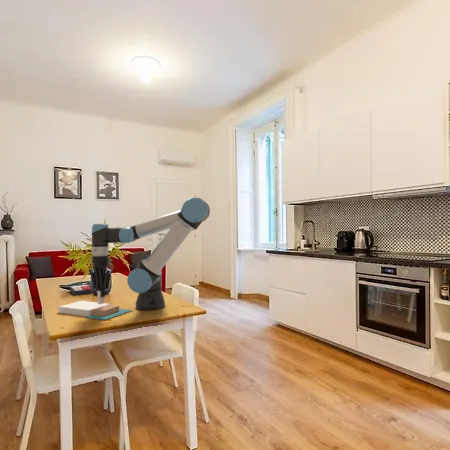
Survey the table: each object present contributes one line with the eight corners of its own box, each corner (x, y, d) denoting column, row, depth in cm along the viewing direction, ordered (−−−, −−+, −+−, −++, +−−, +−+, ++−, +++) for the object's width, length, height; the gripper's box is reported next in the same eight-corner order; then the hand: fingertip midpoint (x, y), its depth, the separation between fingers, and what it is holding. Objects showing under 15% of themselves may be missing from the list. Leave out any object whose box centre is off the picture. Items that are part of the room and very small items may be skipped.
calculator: (74, 290, 203) (70, 285, 215) (74, 297, 203) (70, 292, 215) (92, 288, 209) (87, 284, 221) (92, 295, 209) (87, 290, 221)
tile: (108, 309, 164) (108, 304, 164) (119, 311, 161) (119, 306, 161) (92, 314, 155) (92, 309, 155) (103, 316, 152) (103, 310, 152)
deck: (81, 306, 174) (81, 300, 174) (110, 309, 166) (110, 303, 166) (58, 312, 161) (58, 306, 161) (88, 316, 153) (88, 310, 153)
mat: (113, 308, 167) (113, 307, 167) (132, 311, 163) (132, 310, 163) (85, 317, 151) (85, 316, 151) (105, 320, 146) (105, 319, 146)
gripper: (84, 255, 159) (84, 304, 158) (104, 256, 153) (105, 306, 153) (96, 254, 165) (96, 301, 165) (116, 254, 160) (116, 303, 160)
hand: (100, 303), depth 159 cm, fingers closed
